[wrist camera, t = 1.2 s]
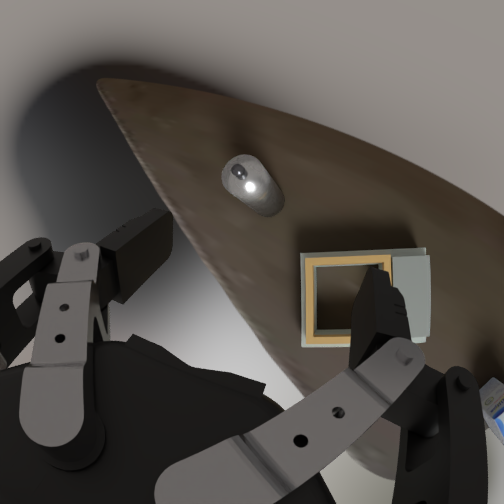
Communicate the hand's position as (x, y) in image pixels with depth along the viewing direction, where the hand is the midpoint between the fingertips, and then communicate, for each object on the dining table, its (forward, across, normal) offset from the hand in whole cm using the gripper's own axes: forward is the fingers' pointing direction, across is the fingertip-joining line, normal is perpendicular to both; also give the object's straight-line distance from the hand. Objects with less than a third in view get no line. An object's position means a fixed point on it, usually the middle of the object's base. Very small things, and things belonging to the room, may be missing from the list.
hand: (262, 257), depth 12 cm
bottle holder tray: (+21, -10, +15) cm, 28 cm away
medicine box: (+13, -35, +22) cm, 43 cm away
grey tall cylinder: (+28, +5, +9) cm, 29 cm away
